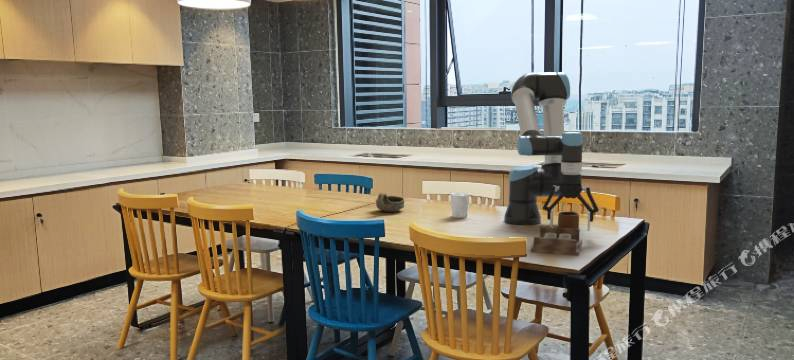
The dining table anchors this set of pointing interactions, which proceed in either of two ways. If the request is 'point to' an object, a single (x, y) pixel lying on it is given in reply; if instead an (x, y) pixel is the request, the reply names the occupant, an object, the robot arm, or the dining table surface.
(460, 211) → the white cup
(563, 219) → the mug
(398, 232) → the dining table surface
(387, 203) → the bowl
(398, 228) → the dining table surface
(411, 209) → the dining table surface
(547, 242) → the peg stand
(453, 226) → the dining table surface
